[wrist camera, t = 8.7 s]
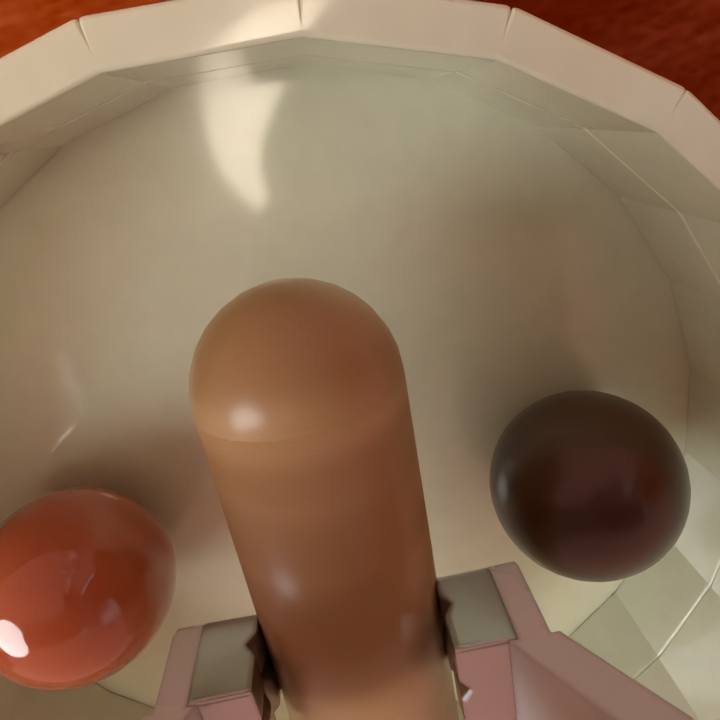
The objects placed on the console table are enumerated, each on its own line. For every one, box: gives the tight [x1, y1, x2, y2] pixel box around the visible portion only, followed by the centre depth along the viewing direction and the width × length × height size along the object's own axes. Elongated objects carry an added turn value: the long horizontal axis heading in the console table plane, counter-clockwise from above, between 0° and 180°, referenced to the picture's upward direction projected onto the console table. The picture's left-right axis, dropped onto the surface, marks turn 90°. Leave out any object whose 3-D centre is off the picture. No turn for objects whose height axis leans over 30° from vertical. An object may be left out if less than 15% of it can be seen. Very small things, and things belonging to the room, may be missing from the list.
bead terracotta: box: [0, 486, 177, 691], centre depth 12 cm, size 4×4×4 cm
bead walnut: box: [490, 390, 691, 582], centre depth 13 cm, size 4×4×4 cm
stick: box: [189, 278, 459, 720], centre depth 11 cm, size 13×3×3 cm, turn 10°
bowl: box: [0, 0, 720, 720], centre depth 13 cm, size 19×19×5 cm
